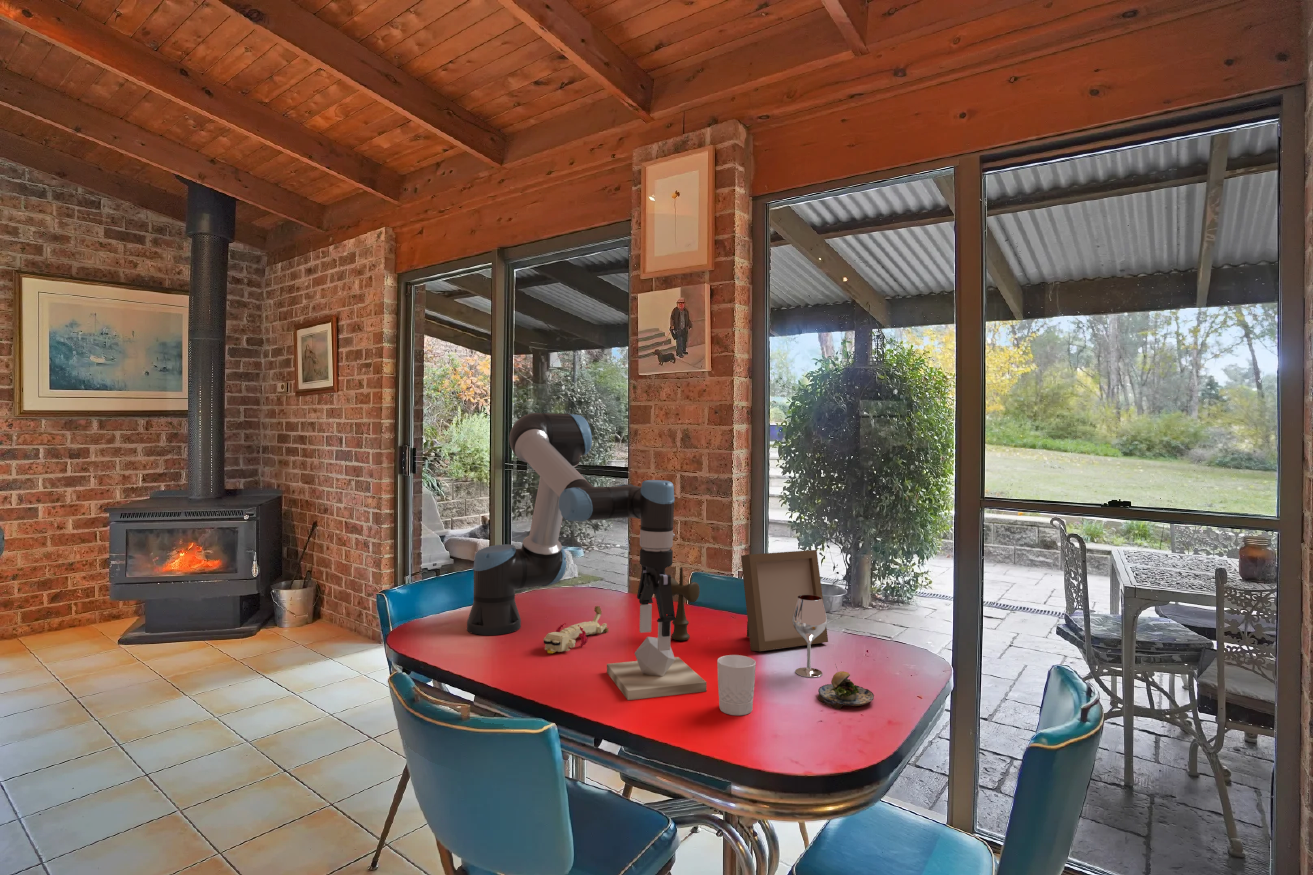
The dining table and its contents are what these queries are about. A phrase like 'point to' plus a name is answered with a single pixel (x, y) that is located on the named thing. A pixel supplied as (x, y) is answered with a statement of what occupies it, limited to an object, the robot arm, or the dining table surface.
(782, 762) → the dining table surface
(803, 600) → the wineglass
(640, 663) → the die
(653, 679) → the birch board
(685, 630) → the kendama
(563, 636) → the cat figure
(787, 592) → the photo frame
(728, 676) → the white cup
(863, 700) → the burger
